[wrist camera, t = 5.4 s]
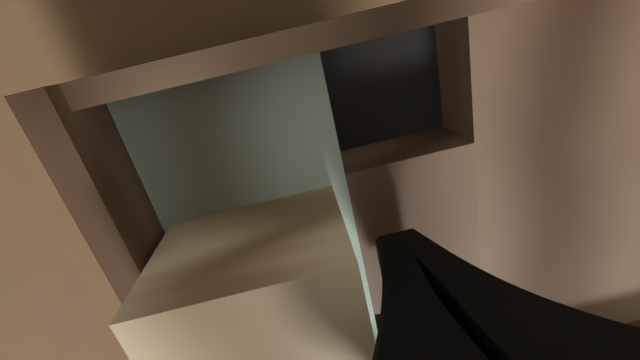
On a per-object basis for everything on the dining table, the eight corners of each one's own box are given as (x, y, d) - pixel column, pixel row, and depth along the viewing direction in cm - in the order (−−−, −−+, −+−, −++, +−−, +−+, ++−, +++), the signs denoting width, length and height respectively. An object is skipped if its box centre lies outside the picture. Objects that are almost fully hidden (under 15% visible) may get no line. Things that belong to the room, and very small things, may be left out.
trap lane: (624, -49, 11) (825, -101, 7) (589, 290, 17) (692, 373, 12) (108, 75, 11) (4, 96, 7) (241, 376, 16) (227, 489, 12)
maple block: (331, 185, 11) (358, 264, 7) (360, 310, 12) (393, 425, 9) (170, 224, 10) (109, 325, 7) (224, 344, 12) (199, 473, 9)
